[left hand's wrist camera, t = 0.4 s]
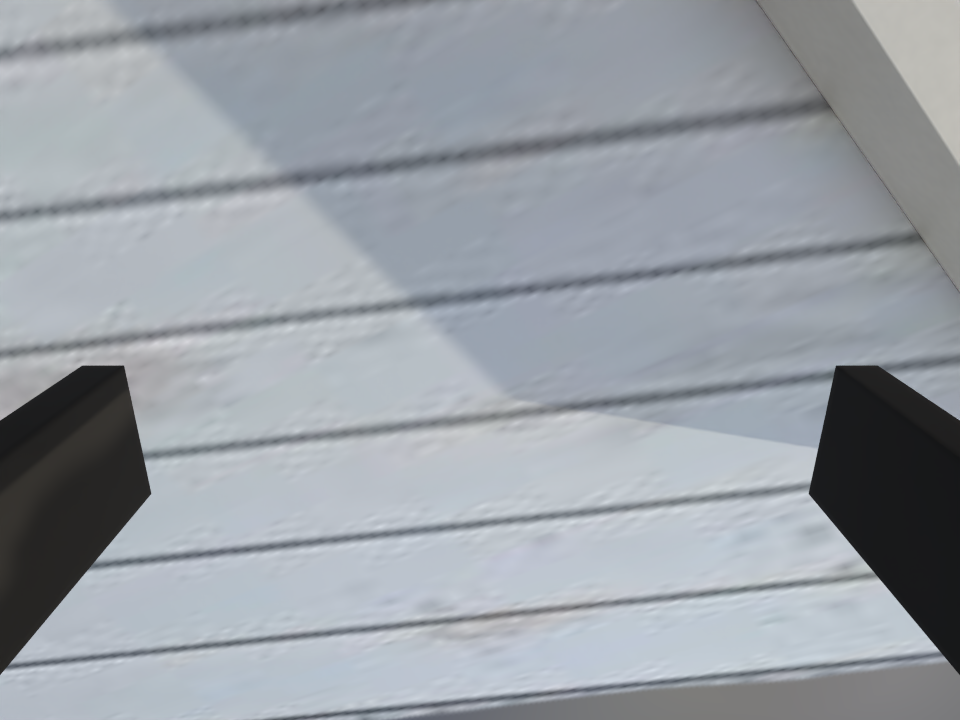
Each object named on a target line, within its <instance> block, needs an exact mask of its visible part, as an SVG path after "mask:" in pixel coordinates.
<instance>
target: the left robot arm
mask: <svg viewBox="0 0 960 720" xmlns="http://www.w3.org/2000/svg"><path fill="white" fill-rule="evenodd" d="M150 495H151V490H150V485H149V481H148V476H147V471H146V467H145V462H144V457H143V453H142V448H141V443H140V439H139V434H138V429H137V425H136V420H135V415H134V410H133V406H132V401H131V396H130V392H129V387H128V382H127V378H126V373H125V368H124V366H81V367H80V368H78V369H77V370H75V371H74V372H72V373H71V374H69V375H68V376H66V377H65V378H63V379H62V380H60V381H59V382H57V383H56V384H54V385H53V386H51V387H50V388H48V389H47V390H45V391H44V392H42V393H41V394H39V395H38V396H36V397H35V398H33V399H32V400H30V401H29V402H27V403H26V404H24V405H23V406H21V407H20V408H18V409H17V410H15V411H14V412H12V413H11V414H10V415H8V416H7V417H5V418H4V419H2V420H1V421H0V675H1V673H2V672H3V671H4V670H5V669H6V667H7V666H8V665H9V664H10V663H11V661H12V660H13V659H14V658H15V657H16V655H17V654H18V653H19V652H20V651H21V649H22V648H23V647H24V646H25V645H26V643H27V642H28V641H29V640H30V639H31V637H32V636H33V635H34V634H35V633H36V631H37V630H38V629H39V628H40V627H41V625H42V624H43V623H44V622H45V621H46V619H47V618H48V617H49V616H50V615H51V613H52V612H53V611H54V610H55V609H56V607H57V606H58V605H59V604H60V603H61V601H62V600H63V599H64V598H65V597H66V595H67V594H68V593H69V592H70V591H71V589H72V588H73V587H74V586H75V585H76V583H77V582H78V581H79V580H80V579H81V577H82V576H83V575H84V574H85V573H86V571H87V570H88V569H89V568H90V567H91V565H92V564H93V563H94V562H95V561H96V559H97V558H98V557H99V556H100V555H101V553H102V552H103V551H104V550H105V549H106V547H107V546H108V545H109V544H110V543H111V541H112V540H113V539H114V538H115V537H116V535H117V534H118V533H119V532H120V531H121V529H122V528H123V527H124V526H125V525H126V523H127V522H128V521H129V520H130V519H131V517H132V516H133V515H134V514H135V513H136V511H137V510H138V509H139V508H140V507H141V505H142V504H143V503H144V502H145V501H146V499H147V498H148V497H149V496H150ZM809 495H810V496H811V497H812V498H813V499H814V501H815V502H816V503H817V504H818V505H819V507H820V508H821V509H822V510H823V511H824V513H825V514H826V515H827V516H828V517H829V519H830V520H831V521H832V522H833V523H834V525H835V526H836V527H837V528H838V529H839V531H840V532H841V533H842V534H843V535H844V537H845V538H846V539H847V540H848V541H849V543H850V544H851V545H852V546H853V547H854V549H855V550H856V551H857V552H858V553H859V555H860V556H861V557H862V558H863V559H864V561H865V562H866V563H867V564H868V565H869V567H870V568H871V569H872V570H873V571H874V573H875V574H876V575H877V576H878V577H879V579H880V580H881V581H882V582H883V583H884V585H885V586H886V587H887V588H888V589H889V591H890V592H891V593H892V594H893V595H894V597H895V598H896V599H897V600H898V601H899V603H900V604H901V605H902V606H903V607H904V609H905V610H906V611H907V612H908V613H909V615H910V616H911V617H912V618H913V619H914V621H915V622H916V623H917V624H918V625H919V627H920V628H921V629H922V630H923V631H924V633H925V634H926V635H927V636H928V637H929V639H930V640H931V641H932V642H933V643H934V645H935V646H936V647H937V648H938V649H939V651H940V652H941V653H942V654H943V655H944V657H945V658H946V659H947V660H948V661H949V663H950V664H951V665H952V666H953V667H954V669H955V670H956V671H957V672H958V673H959V674H960V421H959V420H958V419H956V418H955V417H953V416H952V415H950V414H949V413H948V412H946V411H945V410H943V409H942V408H940V407H939V406H937V405H936V404H934V403H933V402H931V401H930V400H928V399H927V398H925V397H924V396H922V395H921V394H919V393H918V392H916V391H915V390H913V389H912V388H910V387H909V386H907V385H906V384H904V383H903V382H901V381H900V380H898V379H897V378H895V377H894V376H892V375H891V374H889V373H888V372H886V371H885V370H883V369H882V368H880V367H879V366H836V368H835V373H834V378H833V382H832V387H831V392H830V396H829V401H828V406H827V410H826V415H825V420H824V425H823V429H822V434H821V439H820V443H819V448H818V453H817V457H816V462H815V467H814V471H813V476H812V481H811V485H810V490H809Z"/></svg>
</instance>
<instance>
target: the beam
mask: <svg viewBox="0 0 960 720" xmlns="http://www.w3.org/2000/svg"><path fill="white" fill-rule="evenodd" d="M756 1H757V2H758V4H759V5H760V6H761V8H762V9H763V11H764V12H765V14H766V15H767V16H768V18H769V19H770V21H771V22H772V24H773V25H774V26H775V28H776V29H777V31H778V32H779V34H780V35H781V37H782V38H783V39H784V41H785V42H786V44H787V45H788V47H789V48H790V49H791V51H792V52H793V54H794V55H795V57H796V58H797V59H798V61H799V62H800V64H801V65H802V67H803V68H804V70H805V71H806V72H807V74H808V75H809V77H810V78H811V80H812V81H813V82H814V84H815V85H816V87H817V88H818V90H819V91H820V93H821V94H822V95H823V97H824V98H825V100H826V101H827V103H828V104H829V105H830V107H831V108H832V110H833V111H834V113H835V114H836V115H837V117H838V118H839V120H840V121H841V123H842V124H843V126H844V127H845V128H846V130H847V131H848V133H849V134H850V136H851V137H852V138H853V140H854V141H855V143H856V144H857V146H858V147H859V148H860V150H861V151H862V153H863V154H864V156H865V157H866V159H867V160H868V161H869V163H870V164H871V166H872V167H873V169H874V170H875V171H876V173H877V174H878V176H879V177H880V179H881V180H882V182H883V183H884V184H885V186H886V187H887V189H888V190H889V192H890V193H891V194H892V196H893V197H894V199H895V200H896V202H897V203H898V204H899V206H900V207H901V209H902V210H903V212H904V213H905V215H906V216H907V217H908V219H909V220H910V222H911V223H912V225H913V226H914V227H915V229H916V230H917V232H918V233H919V235H920V236H921V237H922V239H923V240H924V242H925V243H926V245H927V246H928V248H929V249H930V250H931V252H932V253H933V255H934V256H935V258H936V259H937V260H938V262H939V263H940V265H941V266H942V268H943V269H944V271H945V272H946V273H947V275H948V276H949V278H950V279H951V281H952V282H953V283H954V285H955V286H956V288H957V289H958V291H959V292H960V0H756Z"/></svg>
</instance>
